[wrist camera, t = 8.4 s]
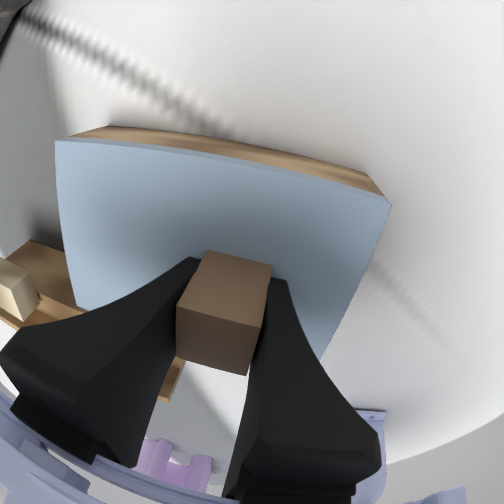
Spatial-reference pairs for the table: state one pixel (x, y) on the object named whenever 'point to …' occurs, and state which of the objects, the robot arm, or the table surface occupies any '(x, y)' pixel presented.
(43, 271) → the toolbox
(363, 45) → the table surface
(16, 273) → the cream rectangular block
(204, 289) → the lid
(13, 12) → the pipe
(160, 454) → the clip
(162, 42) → the table surface
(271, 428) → the robot arm
